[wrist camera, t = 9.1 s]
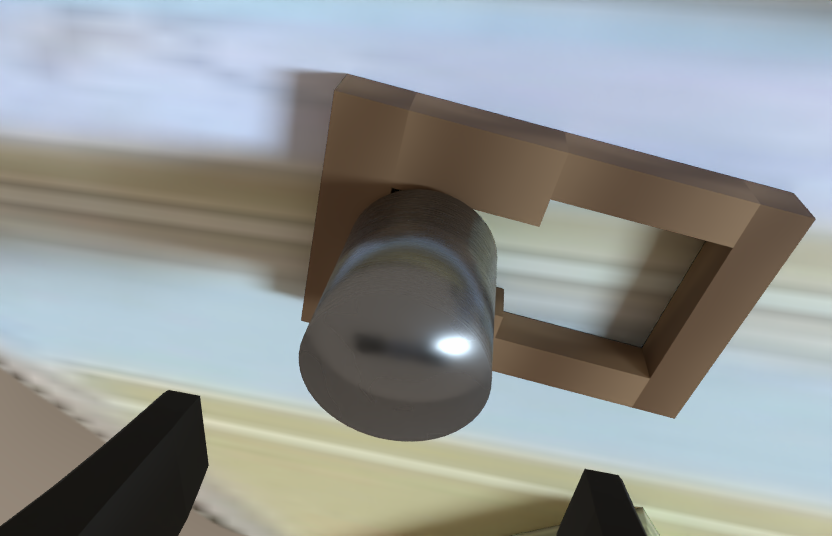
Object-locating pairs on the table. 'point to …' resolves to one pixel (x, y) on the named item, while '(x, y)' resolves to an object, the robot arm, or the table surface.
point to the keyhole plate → (527, 202)
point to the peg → (406, 320)
